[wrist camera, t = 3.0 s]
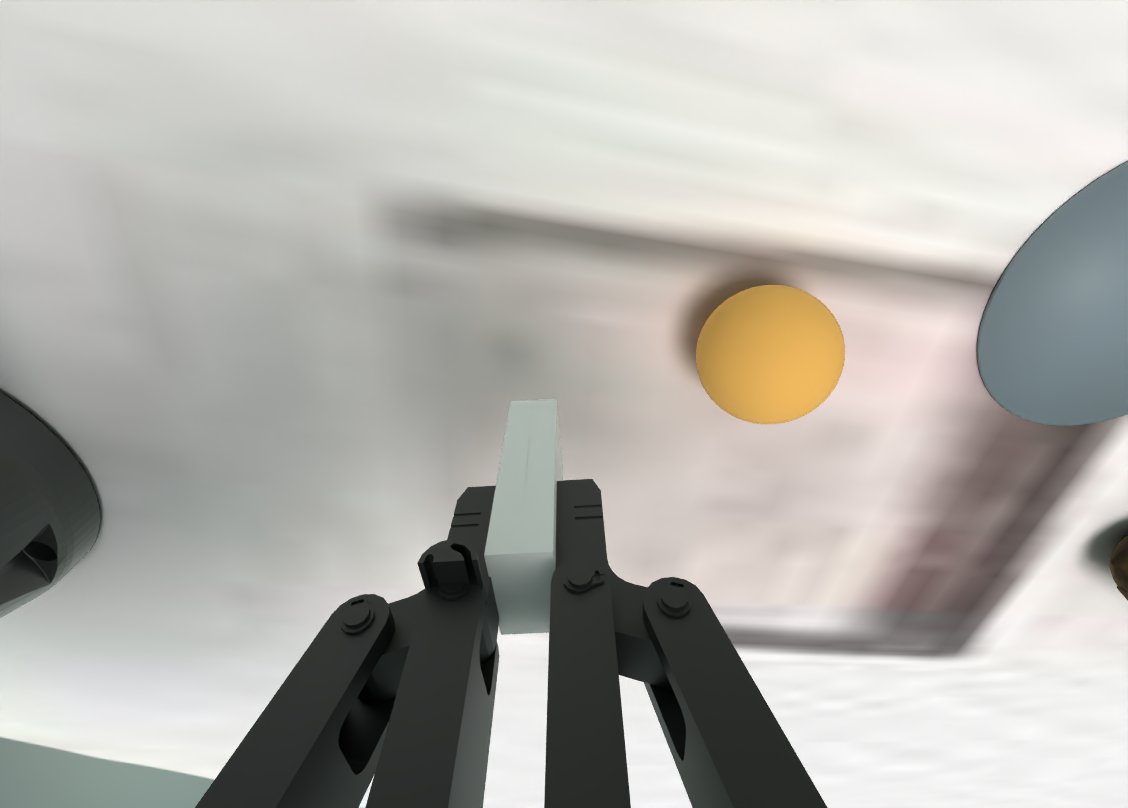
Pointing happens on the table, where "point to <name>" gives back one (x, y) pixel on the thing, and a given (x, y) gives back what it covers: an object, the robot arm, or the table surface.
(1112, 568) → the potato
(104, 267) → the table surface
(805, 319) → the ball
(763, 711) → the robot arm
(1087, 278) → the disc
